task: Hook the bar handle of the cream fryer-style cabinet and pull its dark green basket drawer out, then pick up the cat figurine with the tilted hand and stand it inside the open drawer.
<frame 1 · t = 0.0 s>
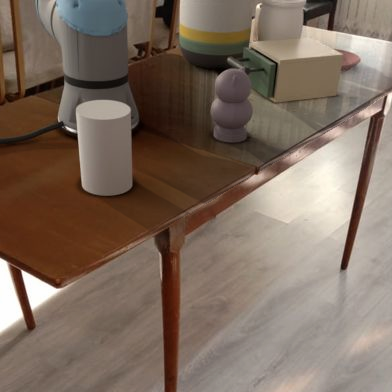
jar: (275, 66, 154), on the table
drawer: (274, 70, 136), point 4 cm above the table, slide at 0.5 cm
vase: (213, 64, 153), on the table
cabinet: (290, 88, 141), on the table
white cylinder: (107, 185, 102), on the table
cat figurine: (229, 136, 119), on the table
plate: (329, 65, 156), on the table
planter: (272, 48, 165), on the table
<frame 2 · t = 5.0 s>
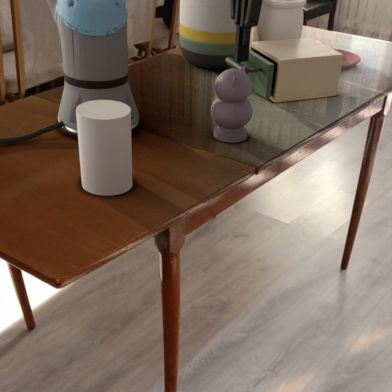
hand: (241, 60, 132), 7 cm above the table, tool pointing down, fingers closed
drawer: (272, 70, 136), point 4 cm above the table, slide at 0.9 cm, touching gripper
everything else where it was.
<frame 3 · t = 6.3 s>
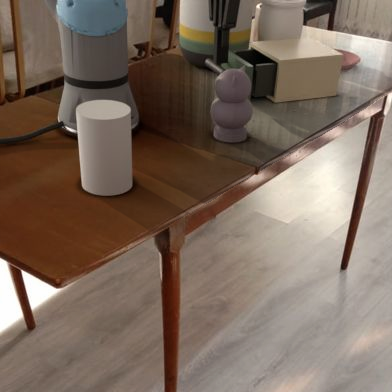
hand: (220, 62, 130), 7 cm above the table, tool pointing down, fingers closed
drawer: (253, 72, 135), point 4 cm above the table, slide at 5.7 cm, touching gripper
everything else where it was.
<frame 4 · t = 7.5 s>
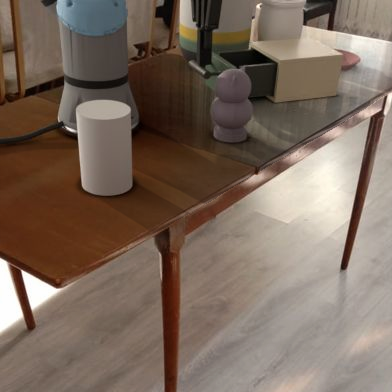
hand: (204, 63, 129), 7 cm above the table, tool pointing down, fingers closed
drawer: (237, 74, 134), point 4 cm above the table, slide at 9.5 cm, touching gripper
everything else where it was.
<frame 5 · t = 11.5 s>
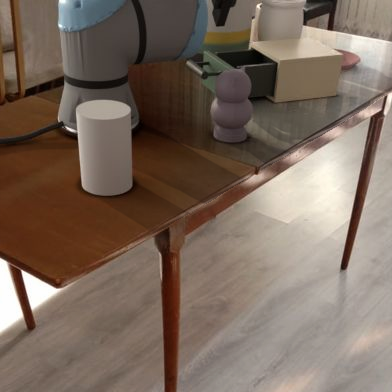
hand: (218, 19, 106), 20 cm above the table, tool tilted 35°, fingers closed
drawer: (235, 74, 133), point 4 cm above the table, slide at 10.1 cm
everything else where it was.
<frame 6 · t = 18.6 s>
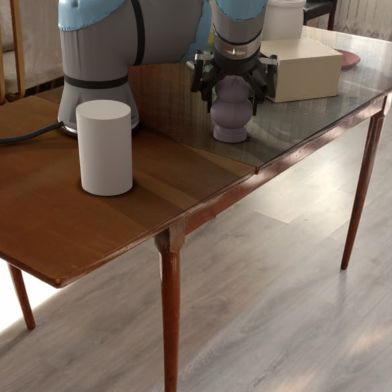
hand: (232, 107, 119), 4 cm above the table, tool tilted 45°, fingers closed on cat figurine, 8 cm apart
cat figurine: (229, 136, 119), on the table, touching gripper
everything else where it was.
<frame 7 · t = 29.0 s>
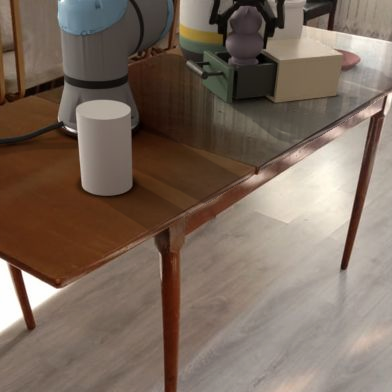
hand: (244, 41, 133), 10 cm above the table, tool tilted 45°, fingers closed on cat figurine, 8 cm apart
cat figurine: (242, 68, 133), point 6 cm above the table, touching gripper
everything else where it was.
when the fingers open (12 cm above the table, at t = 42.3 s): cat figurine drops 6 cm, resting on drawer.
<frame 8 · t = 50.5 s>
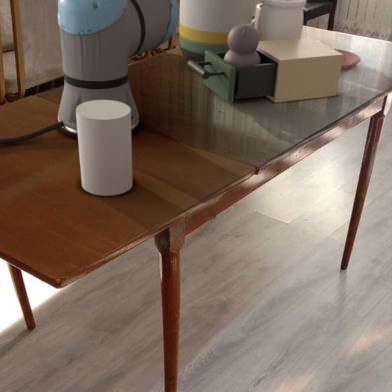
drawer: (236, 74, 133), point 4 cm above the table, slide at 9.8 cm, touching cat figurine
cat figurine: (239, 85, 135), point 2 cm above the table, touching drawer
everything else where it was.
at the end: drawer slide at 9.8 cm; cat figurine inside the target area in the drawer (0.1 cm from its centre), point 1.8 cm above the cabinet's base; cat figurine tilted 0° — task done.
